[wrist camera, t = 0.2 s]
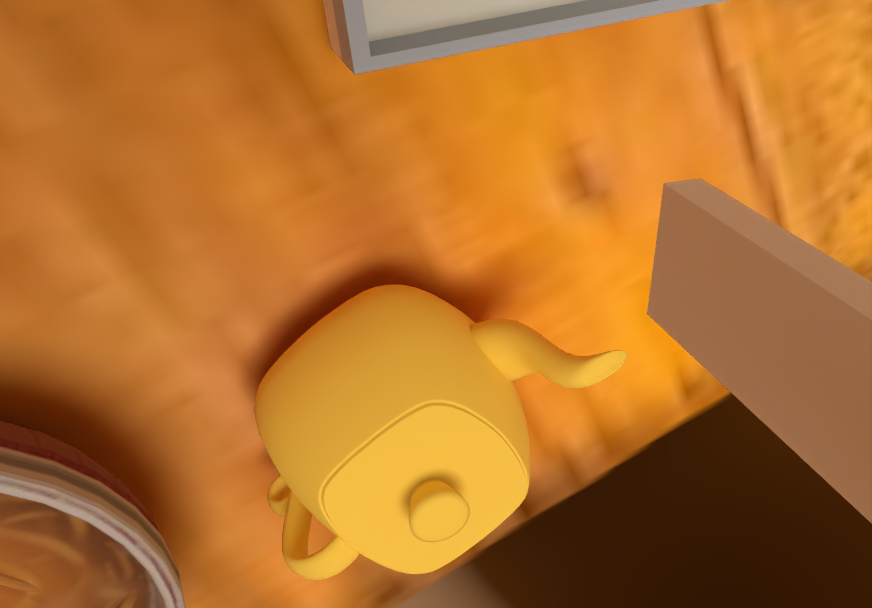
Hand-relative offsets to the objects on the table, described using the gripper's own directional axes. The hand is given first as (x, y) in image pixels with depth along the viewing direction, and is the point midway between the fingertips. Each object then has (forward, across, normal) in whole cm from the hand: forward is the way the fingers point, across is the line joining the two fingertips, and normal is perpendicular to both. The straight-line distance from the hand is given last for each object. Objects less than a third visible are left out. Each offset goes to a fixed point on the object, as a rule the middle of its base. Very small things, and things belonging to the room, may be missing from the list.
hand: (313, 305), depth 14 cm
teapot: (+28, +8, -20) cm, 35 cm away
